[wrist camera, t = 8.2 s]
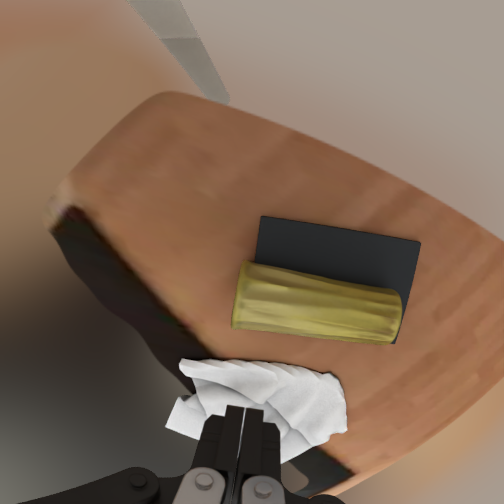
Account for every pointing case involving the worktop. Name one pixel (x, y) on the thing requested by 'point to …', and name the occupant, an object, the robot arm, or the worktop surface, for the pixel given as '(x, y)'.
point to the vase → (314, 306)
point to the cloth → (264, 400)
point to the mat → (339, 254)
